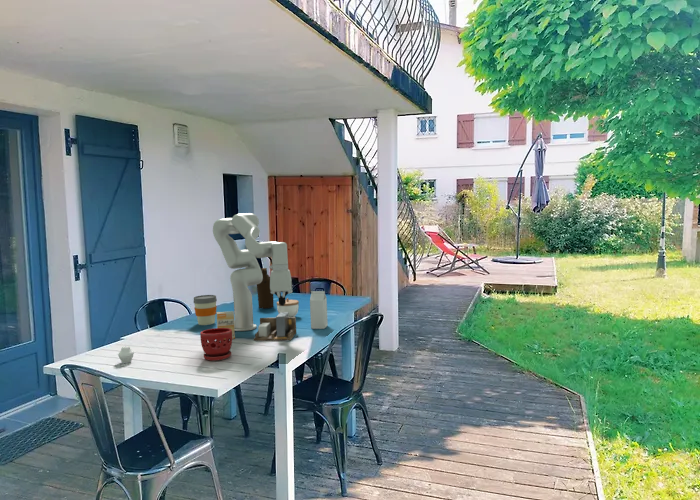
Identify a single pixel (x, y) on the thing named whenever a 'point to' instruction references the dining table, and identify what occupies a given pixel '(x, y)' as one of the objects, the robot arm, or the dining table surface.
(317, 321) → the milk carton
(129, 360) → the white faceted vase
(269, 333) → the rack
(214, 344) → the plant pot
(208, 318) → the reusable coffee cup
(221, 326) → the supplement box
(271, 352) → the dining table surface
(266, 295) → the olive oil
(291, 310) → the lidded bowl
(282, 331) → the panel
